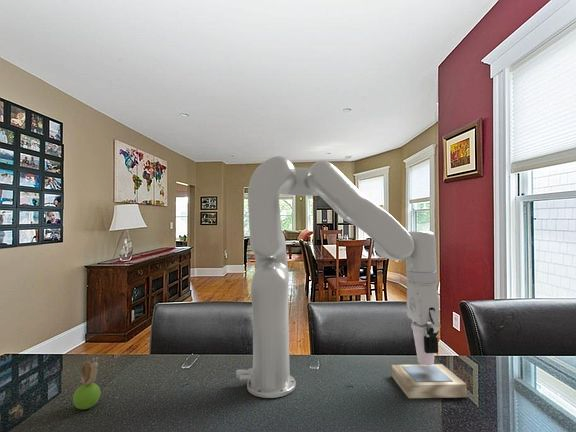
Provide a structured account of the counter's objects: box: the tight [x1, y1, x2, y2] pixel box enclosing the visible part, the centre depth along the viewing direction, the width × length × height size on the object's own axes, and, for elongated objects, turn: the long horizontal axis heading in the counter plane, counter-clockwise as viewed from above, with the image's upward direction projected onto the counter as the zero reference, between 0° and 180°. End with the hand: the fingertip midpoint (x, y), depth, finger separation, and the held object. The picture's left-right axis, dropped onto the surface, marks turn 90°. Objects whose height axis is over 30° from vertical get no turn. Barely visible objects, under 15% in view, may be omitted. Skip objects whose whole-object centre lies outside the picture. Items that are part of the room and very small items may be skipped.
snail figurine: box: [72, 356, 101, 410], centre depth 73 cm, size 5×6×12 cm
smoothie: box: [410, 321, 436, 366], centre depth 82 cm, size 6×6×14 cm
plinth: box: [391, 363, 468, 399], centre depth 81 cm, size 14×12×3 cm
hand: (425, 347), depth 81 cm, fingers closed on smoothie, 6 cm apart
